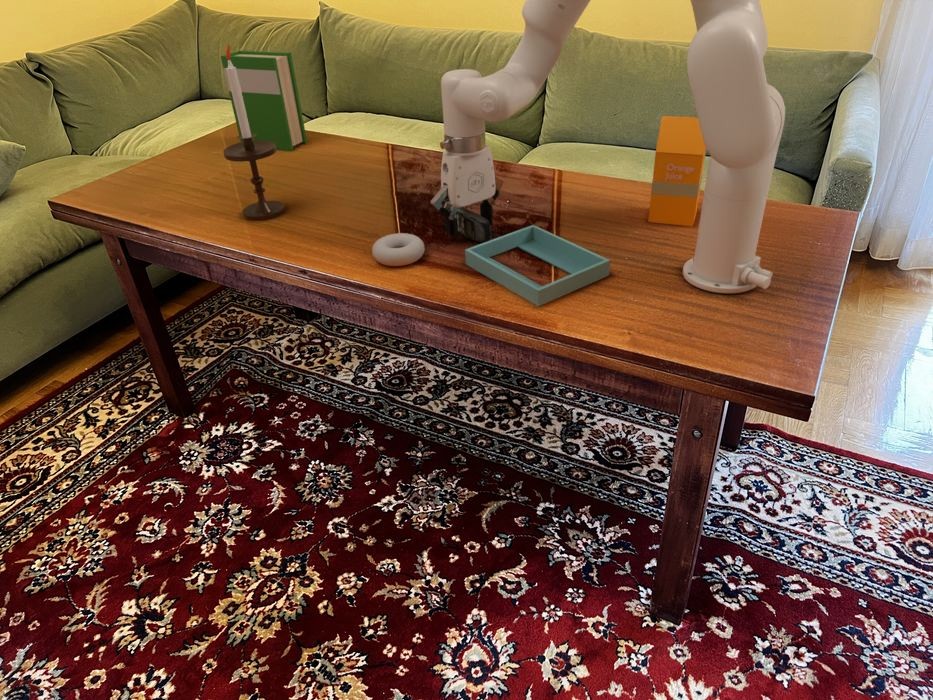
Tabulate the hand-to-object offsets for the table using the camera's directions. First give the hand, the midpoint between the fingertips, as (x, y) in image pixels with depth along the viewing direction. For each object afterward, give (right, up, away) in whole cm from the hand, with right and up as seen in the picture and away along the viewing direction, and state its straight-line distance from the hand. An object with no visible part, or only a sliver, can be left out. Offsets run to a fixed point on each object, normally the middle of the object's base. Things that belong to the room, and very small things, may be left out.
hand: (469, 229), depth 135 cm
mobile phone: (0, -1, +1) cm, 1 cm away
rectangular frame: (+12, -10, -13) cm, 20 cm away
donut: (-14, -7, -6) cm, 16 cm away
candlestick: (-46, +7, +16) cm, 49 cm away
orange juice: (+41, +3, +3) cm, 42 cm away
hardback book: (-56, +35, +59) cm, 88 cm away
